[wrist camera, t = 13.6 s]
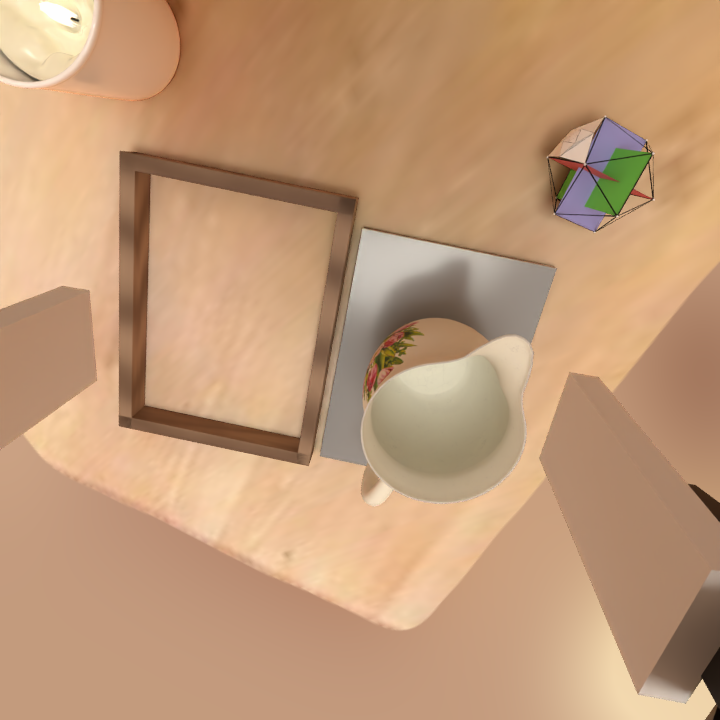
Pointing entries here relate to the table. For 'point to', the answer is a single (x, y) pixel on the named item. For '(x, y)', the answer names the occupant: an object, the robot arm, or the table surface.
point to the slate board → (422, 311)
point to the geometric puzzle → (599, 172)
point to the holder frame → (135, 306)
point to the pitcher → (443, 412)
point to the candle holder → (89, 46)
